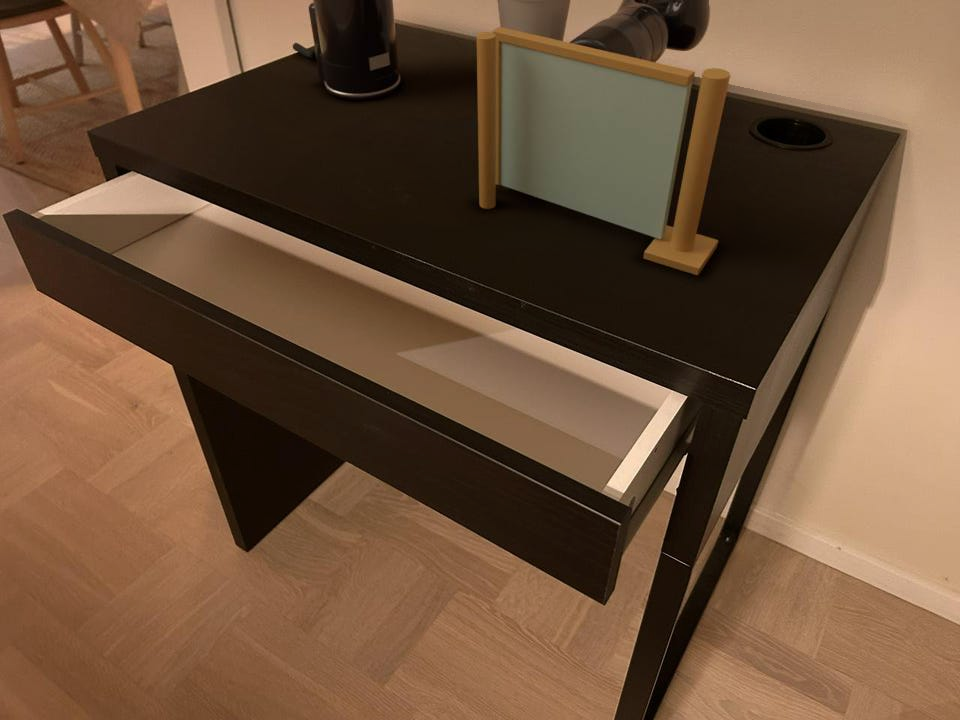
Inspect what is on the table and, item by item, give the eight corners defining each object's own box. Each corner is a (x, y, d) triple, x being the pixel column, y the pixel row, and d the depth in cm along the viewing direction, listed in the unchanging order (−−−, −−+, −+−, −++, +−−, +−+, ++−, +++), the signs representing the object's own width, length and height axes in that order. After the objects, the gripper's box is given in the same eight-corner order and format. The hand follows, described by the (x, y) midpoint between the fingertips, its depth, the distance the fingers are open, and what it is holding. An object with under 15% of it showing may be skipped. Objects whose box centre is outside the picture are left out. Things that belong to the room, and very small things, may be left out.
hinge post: (717, 247, 67) (759, 68, 56) (697, 276, 64) (739, 92, 53) (664, 231, 69) (695, 56, 58) (642, 259, 66) (672, 78, 55)
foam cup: (532, 58, 100) (536, -50, 91) (583, 78, 95) (592, -34, 86) (478, 77, 96) (477, -34, 87) (528, 99, 90) (532, -16, 82)
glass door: (665, 234, 67) (695, 71, 57) (659, 240, 66) (688, 76, 56) (499, 178, 74) (499, 26, 64) (492, 183, 74) (491, 30, 64)
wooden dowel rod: (498, 203, 73) (499, 34, 62) (490, 210, 72) (489, 40, 61) (484, 198, 73) (482, 30, 63) (476, 206, 72) (472, 36, 62)
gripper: (551, 14, 79) (463, 69, 69) (670, 36, 74) (594, 99, 63) (548, 84, 84) (465, 145, 74) (658, 109, 79) (586, 179, 68)
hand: (525, 124), depth 69 cm, fingers closed
